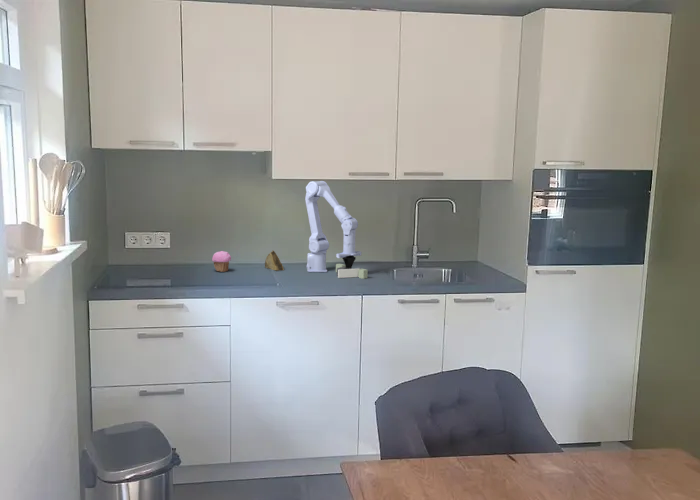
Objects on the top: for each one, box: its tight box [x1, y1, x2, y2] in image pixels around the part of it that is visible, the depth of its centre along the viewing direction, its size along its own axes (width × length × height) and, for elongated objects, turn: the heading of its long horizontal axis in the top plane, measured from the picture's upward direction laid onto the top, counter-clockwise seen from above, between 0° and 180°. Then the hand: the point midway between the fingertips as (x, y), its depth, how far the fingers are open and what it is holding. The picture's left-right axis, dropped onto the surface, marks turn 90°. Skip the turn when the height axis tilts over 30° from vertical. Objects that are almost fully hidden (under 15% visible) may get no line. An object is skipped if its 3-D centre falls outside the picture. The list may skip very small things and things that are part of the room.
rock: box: [264, 250, 285, 271], centre depth 326 cm, size 11×9×10 cm
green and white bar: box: [335, 263, 368, 279], centre depth 315 cm, size 2×20×4 cm, turn 42°
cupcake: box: [211, 250, 232, 273], centre depth 315 cm, size 9×9×10 cm
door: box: [337, 267, 362, 279], centre depth 309 cm, size 1×11×4 cm, turn 112°
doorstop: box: [336, 267, 352, 277], centre depth 312 cm, size 5×5×4 cm
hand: (348, 271), depth 315 cm, fingers closed
